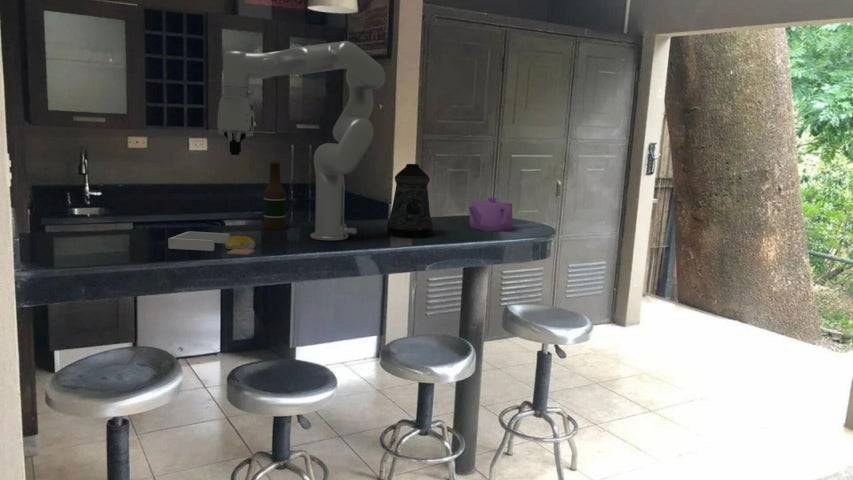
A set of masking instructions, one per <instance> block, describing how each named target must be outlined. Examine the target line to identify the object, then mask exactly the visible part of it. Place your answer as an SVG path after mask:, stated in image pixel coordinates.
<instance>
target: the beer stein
mask: <svg viewBox="0 0 853 480" xmlns="http://www.w3.org/2000/svg"><path fill="white" fill-rule="evenodd" d="M430 179H431V178H430V177H429V176H428V174H427V173H426V172H425V171H423V169H422V168H421V167H420V164H418V163H406V165H405V167H404V168H402V169H401V170H400V171H398V172H397V174H396V175H395V176H394V181H395V190H394V194H393V200H392V206H391V211H390V215H389V218H388V221H387V222H386V230H387V234H388V236H390V237H393V238H402V239H424V238H430V237H432V232H433V229H434V225H433V222H432V219H431V213H430V211H431V210H430V201H429V189H428V185H429V183H430Z"/></svg>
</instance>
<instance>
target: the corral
mask: <svg viewBox="0 0 853 480" xmlns="http://www.w3.org/2000/svg"><path fill="white" fill-rule="evenodd" d="M229 237H231V233H226V232H223V233H222V232H205V231H186V232H183V233H180V234H177V235H175V236H172V237H169V238H168V239H167V240H168V242H167V243H168V249H171V250H173V249H174V250H186V251H187V250H190V251H209V252H210V251H211V252H214V251H215V244H225V242H226V240H227V239H228V238H229Z"/></svg>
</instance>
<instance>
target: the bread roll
mask: <svg viewBox="0 0 853 480" xmlns="http://www.w3.org/2000/svg"><path fill="white" fill-rule="evenodd" d="M255 247H256V242H255V240H254V239H253V238H252V237H250V236H246V235H243V236H242V235H233V236H231V235H230V237H229V238H228V239H227V240H226V242H225V243H224V248H225V249H227V250H233V249H249V250H255Z"/></svg>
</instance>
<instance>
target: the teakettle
mask: <svg viewBox="0 0 853 480" xmlns="http://www.w3.org/2000/svg"><path fill="white" fill-rule="evenodd" d="M468 209H469V212H470V214H469V226H470V227H469V228H471V229H475V230H479V231H485V232H493V233H494V232H504V231H505V232H506V231H508V232H509V231H511V229H512V228H513V203H509V202H505V201H499V200H497V197H495V196H494V197H493V196H489V197H487V200H474V201H471V205H470V206H468Z"/></svg>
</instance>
